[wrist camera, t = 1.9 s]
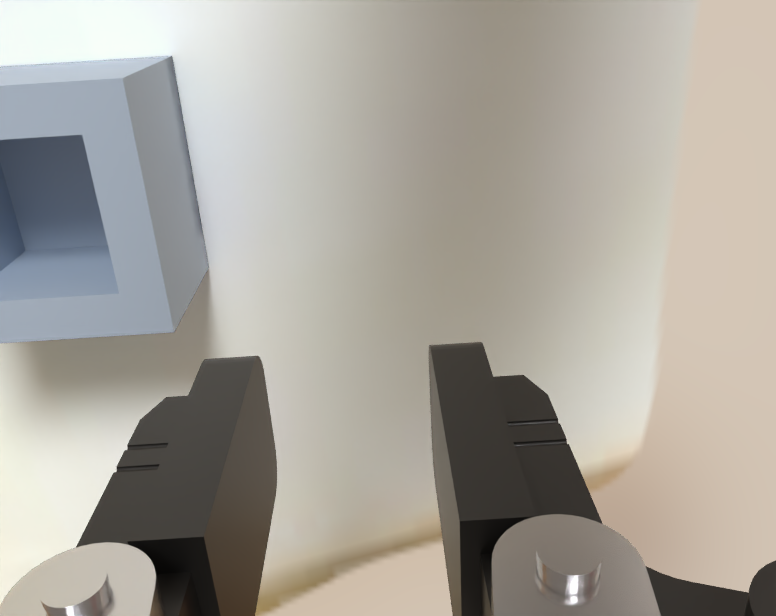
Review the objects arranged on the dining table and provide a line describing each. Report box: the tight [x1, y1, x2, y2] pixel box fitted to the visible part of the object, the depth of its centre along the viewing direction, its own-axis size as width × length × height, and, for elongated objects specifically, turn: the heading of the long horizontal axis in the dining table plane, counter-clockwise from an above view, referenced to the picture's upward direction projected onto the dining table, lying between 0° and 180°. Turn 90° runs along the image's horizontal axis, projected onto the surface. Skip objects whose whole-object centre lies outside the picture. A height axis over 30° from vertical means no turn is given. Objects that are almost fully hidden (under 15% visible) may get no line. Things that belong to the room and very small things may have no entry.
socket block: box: [0, 56, 209, 343], centre depth 22 cm, size 7×7×5 cm
